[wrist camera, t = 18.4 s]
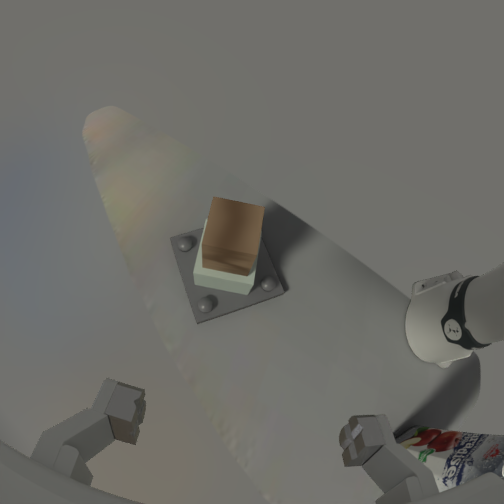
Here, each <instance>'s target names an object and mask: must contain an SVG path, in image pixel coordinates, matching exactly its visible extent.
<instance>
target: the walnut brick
mask: <svg viewBox="0 0 504 504" xmlns="http://www.w3.org/2000/svg"><path fill="white" fill-rule="evenodd" d="M264 209H265V207H262V206H257V205H252V204H248V203H243V202H238V201H233V200H228V199H223V198H218V197H213V200H212V204H211V208H210V212H209V216H208V220H207V224H206V228H205V232H204V236H203V240H202V268H207V269H212V270H217V271H222V272H227V273H232V274H237V275H242V276H248V274H249V272H250V270H251V267H252V265H253V263H254V261H255V259H256V257H257V253H258V247H259V241H260V234H261V228H262V222H263V216H264Z"/></svg>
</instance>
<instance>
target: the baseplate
mask: <svg viewBox="0 0 504 504" xmlns="http://www.w3.org/2000/svg"><path fill="white" fill-rule="evenodd" d="M207 220H208V219H206V221H205V225H204V228H202V229H198V230H195V231H191V232H188V233H185V234H181V235H178V236H174V237H171V238H170V240H171V244H172V247H173V250H174V254H175V257H176V260H177V264H178V267H179V270H180V273H181V277H182V280H183V283H184V286H185V289H186V292H187V295H188V298H189V301H190V304H191V307H192V310H193V313H194V316H195V319H196V322H197V324H199V323H202V322H205V321H208V320H211V319H214V318H217V317H220V316H223V315H226V314H229V313H232V312H235V311H238V310H241V309H244V308H246V307H249V306H252V305H255V304H258V303H261V302H263V301H266V300H269V299H272V298H274V297H277V296H280V295H282V294H283V293H285V292H284V290H283V288H282V285H281V283H280V280H279V278H278V275H277V273H276V271H275V268H274V266H273V263H272V261H271V259H270V256H269V254H268V251H267V249H266V247H265V244H264V242H263V239H262V237H261V234H262V230H261V234H260V241H259V247H258V253H257V257H256V259H255V261H254V263H253V265H252V267H251V270H250V272H249V274H248V276H242V275H237V274H232V273H227V272H222V271H217V270H212V269H207V268H202V240H203V236H204V232H205V228H206V224H207Z"/></svg>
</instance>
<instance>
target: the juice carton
mask: <svg viewBox="0 0 504 504" xmlns="http://www.w3.org/2000/svg"><path fill="white" fill-rule="evenodd" d="M395 441H396V444H398V443H399V444H400V445H402V446H403V447H404V448H405V449H406V450H407V451H409V452H410V453H411V454H412V455H413V456H415V457H416V458H417V459H418V460H419V461H421V462H422V463H423V464H424V465H425V466H427V467H428V468H429V469H430V470H431V471H432V473H433V475H434V478H435V481H436V484H437V487H438V490H439V493H440V492H443V491H445V490H448V489H451V488H453V487H456V486H458V485H461V484H463V483H465V482H468V481H470V480H472V479H475V478H477V477H479V476H481V475H483V474H485V473H488V472H493V473H494V474H496V475H498V476H499V477H501V478H502V479H503V480H504V435H489V434H477V433H467V432H458V431H450V430H442V429H436V428H429V427H423V426H413V427H412V428H410V429H409V430H407V431H406V432H404V433H403V434H402V435H400V436H399V437H397V438H395Z"/></svg>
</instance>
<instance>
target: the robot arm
mask: <svg viewBox="0 0 504 504" xmlns="http://www.w3.org/2000/svg"><path fill="white" fill-rule="evenodd" d="M422 287H423V288H422ZM405 328H406V335H407V339H408V342H409V345H410V347H411V349H412V350H413V352H414V353H415V355H416V356H417V357H419V358H420V359H421V360H423V361H426V362H432V363H436V364H437V365H439V366H440V367H441V368H447V367H449V366H450V364H451V363H452V362H453V361H454V360H458V359H462V358H466V357H469V356H470V355H471V353H472V352H473V351H474V349H481V348H484V347H486V346H488V345H490V344H491V343H493V342H498V341H502V340H504V262H503V263H502V264H500V265H499V266H498V267H496V268H494V269H493V270H491V271H489V272H487V273H485V274H483V275H481V276H471V275H469V276H466V277H463V276H462V275H461V274H460V273H459V272H458V271H454V272H452V273H449V274H446V275H442V276H438V277H434V278H430V279H426V280H422V281H418V282H415V283H414V284H413V286H412V299H411V302H410V304H409V307H408V310H407V314H406V321H405ZM144 397H145V390H144V389H141V388H138V387H134V386H131V385H128V384H125V383H122V382H118V381H115V380H112V379H109V378H106V380H105V381H104V382H103V384H102V386H101V388H100V391H99V393H98V395H97V397H96V399H95V401H94V403H93V405H92V407H91V409H88V408H86V409H85V410H83V411H81V412H79V413H77V414H76V415H74V416H72V417H70V418H68V419H66V420H65V421H63V422H61V423H59V424H57V425H55V426H53V427H52V428H50V429H48V430H46V431H44V432H43V433H42V435H41V437H40V439H39V441H38V443H37V445H36V447H35V449H34V451H33V453H32V455H31V457H30V458H29V457H28V456H26V455H24V454H22V453H21V452H19V451H17V450H16V449H14V448H12V447H11V446H9V445H8V444H6V443H4V442H3V441H1V440H0V504H143V503H139V502H136V501H132V500H129V499H126V498H122V497H119V496H116V495H113V494H110V493H107V492H104V491H102V490H99V489H96V488H93V487H91V486H90V485H91V482H92V479H93V475H92V473H91V472H90V470H89V469H88V467H87V466H86V464H85V463H86V462H87V461H88V460H90V459H91V458H93V457H94V456H95V455H96V454H98V453H99V452H100V451H102V450H103V449H104V448H105V447H107V446H108V445H110V444H111V443H112V442H113V441H115V439H116V440H119V441H122V442H126V443H130V444H133V445H136V442H137V438H138V436H139V432H140V430H139V425H140V424H141V423H142V422H143V419H144V415H145V410H146V401H145V400H144ZM348 421H349V424H347V425H345V426H344V427H343V428H342V429H341V431H340V435H339V443H340V446H341V447H342V448H343V449H344V451H343V453H342V457H343V462H344V467H351V466H362V468H363V469H364V470H365V471H366V472H367V474H368V475H369V476H370V477H371V478H372V479H373V481H374V482H375V483H376V484H377V485H378V486H379V488H380V489H381V490H382V491H383V492H384V493H385V494H384V495H382V496H381V497H379V498H378V499H377V500H376V501H375V502H376V504H504V480H503V479H502V478H501V477H499V476H498V475H496V474H494V473H493V472H488V473H485V474H483V475H481V476H479V477H477V478H475V479H472V480H470V481H468V482H465V483H463V484H461V485H458V486H456V487H453V488H451V489H448V490H445V491H443V492H440V493H439V490H438V487H437V484H436V481H435V478H434V475H433V473H432V471H431V470H430V469H429V468H428V467H427V466H425V465H424V464H423V463H422V462H421V461H419V460H418V459H417V458H416V457H415V456H413V455H412V454H411V453H410V452H409V451H407V450H406V449H405V448H404V447H403V446H402V445H400V444H399V443H398V444H396V441H395V438H394V435H393V432H392V430H391V427H390V424H389V422H388V419H387V417H386V416H385V415H356V416H352V417H351V418H350V419H349V420H348Z"/></svg>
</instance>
